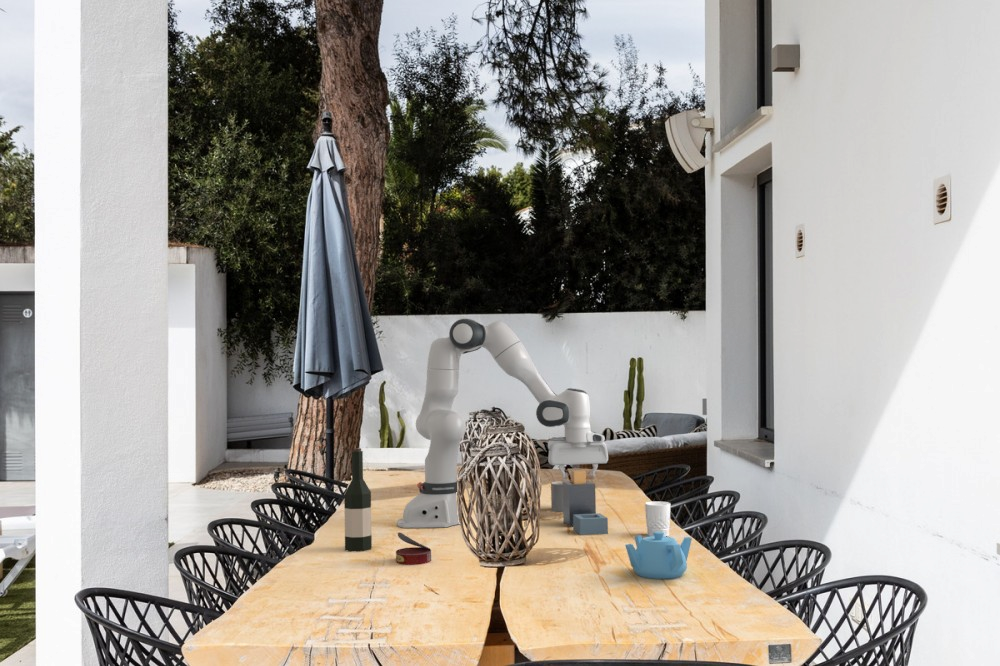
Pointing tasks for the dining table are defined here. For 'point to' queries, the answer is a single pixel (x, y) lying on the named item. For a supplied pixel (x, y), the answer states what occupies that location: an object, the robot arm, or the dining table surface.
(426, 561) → the canned food
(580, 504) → the upper socket
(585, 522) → the lower socket
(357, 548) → the wine bottle
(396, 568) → the dining table surface
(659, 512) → the white cup
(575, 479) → the plug
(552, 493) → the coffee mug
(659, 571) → the teapot
